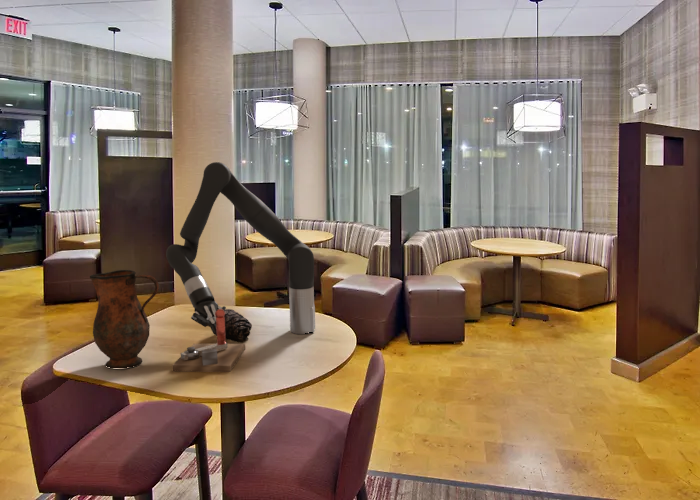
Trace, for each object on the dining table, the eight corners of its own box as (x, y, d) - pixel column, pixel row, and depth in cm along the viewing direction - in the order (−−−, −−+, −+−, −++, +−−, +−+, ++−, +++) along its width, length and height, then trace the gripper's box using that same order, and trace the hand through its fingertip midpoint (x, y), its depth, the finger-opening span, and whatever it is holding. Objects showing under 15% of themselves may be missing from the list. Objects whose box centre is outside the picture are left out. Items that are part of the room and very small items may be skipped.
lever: (186, 361, 168) (183, 319, 166) (179, 357, 171) (176, 316, 169) (229, 349, 178) (227, 309, 176) (222, 345, 182) (220, 306, 179)
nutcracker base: (245, 349, 185) (244, 332, 184) (230, 371, 165) (229, 353, 164) (194, 349, 186) (193, 332, 185) (172, 371, 166) (171, 352, 165)
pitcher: (108, 355, 181) (101, 267, 176) (172, 354, 181) (166, 267, 176) (85, 374, 164) (76, 278, 160) (154, 373, 164) (148, 277, 160)
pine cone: (241, 345, 189) (240, 318, 188) (209, 336, 200) (207, 310, 198) (262, 337, 197) (261, 311, 196) (230, 329, 208) (229, 304, 207)
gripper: (184, 289, 179) (205, 333, 173) (219, 283, 189) (240, 324, 182) (177, 301, 184) (197, 344, 178) (212, 294, 193) (232, 335, 187)
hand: (219, 334), depth 180 cm, fingers closed
